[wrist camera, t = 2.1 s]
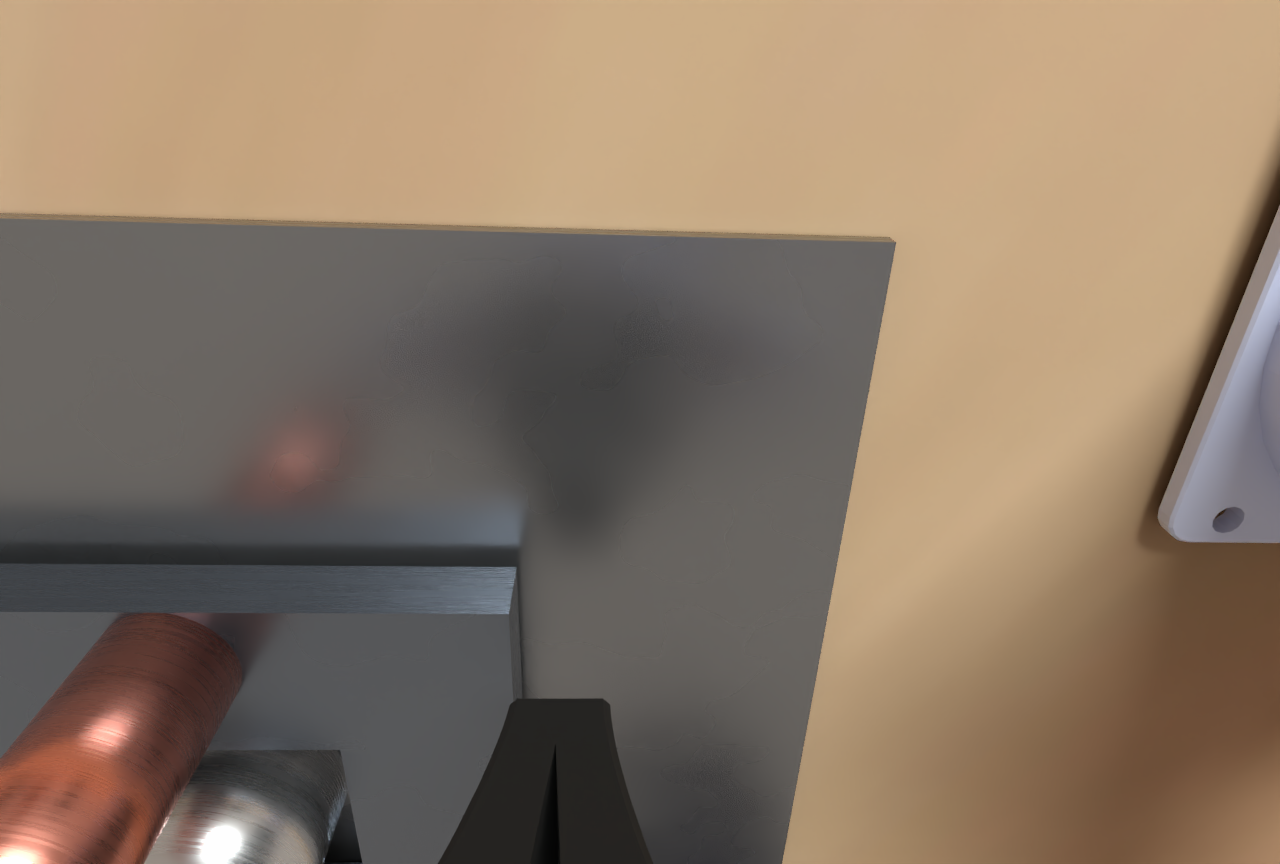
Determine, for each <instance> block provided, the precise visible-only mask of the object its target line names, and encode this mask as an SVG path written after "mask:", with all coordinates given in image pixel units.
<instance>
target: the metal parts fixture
mask: <svg viewBox="0 0 1280 864" xmlns="http://www.w3.org/2000/svg"><path fill="white" fill-rule="evenodd" d="M516 699H522V677H521V655H520V632H519V610H518V588H517V567H422V566H283V565H144V564H6V563H0V864H144V863H145V861H146V859H147V857H148V856H149V854H150V852H151V850H152V848H153V846H154V845H155V843H156V841H157V839H158V837H159V836H160V834H161V832H162V830H163V828H164V826H165V825H166V823H167V821H168V819H169V817H170V816H171V814H172V812H173V810H174V808H175V806H176V805H177V803H178V801H179V799H180V797H181V796H182V794H183V792H184V790H185V788H186V786H187V785H188V783H189V781H190V779H191V777H192V776H193V774H194V772H195V770H196V768H197V767H198V765H199V763H200V761H201V759H202V757H203V756H204V754H205V752H206V750H340V752H341V757H342V762H343V767H344V772H345V777H346V782H347V787H348V792H349V797H350V802H351V807H352V812H353V818H354V823H355V828H356V833H357V838H358V843H359V848H360V853H361V858H362V863H324V864H438V862H439V860H440V859H441V857H442V855H443V853H444V852H445V850H446V848H447V846H448V845H449V843H450V841H451V839H452V837H453V835H454V833H455V831H456V829H457V827H458V825H459V823H460V821H461V819H462V817H463V815H464V813H465V811H466V809H467V807H468V805H469V803H470V801H471V799H472V797H473V795H474V793H475V791H476V789H477V787H478V785H479V783H480V781H481V779H482V776H483V774H484V772H485V770H486V767H487V765H488V763H489V761H490V758H491V756H492V754H493V751H494V749H495V746H496V744H497V741H498V739H499V736H500V733H501V731H502V728H503V725H504V722H505V719H506V716H507V713H508V709H509V706H510V704H511V703H513V702H514V701H515V700H516Z"/></svg>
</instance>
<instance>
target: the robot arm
mask: <svg viewBox="0 0 1280 864" xmlns="http://www.w3.org/2000/svg"><path fill="white" fill-rule="evenodd" d="M1226 508H1227V509H1226ZM1224 509H1226V510H1225V511H1224V513H1223V514H1222V515H1220V516H1219V517H1217V518H1215V517H1216V516H1217V514H1218V513H1219V512H1221V511H1223V510H1224ZM1157 518H1158V520H1159V523H1160V525H1161V526H1162V527H1163V528H1164V529H1165V530H1166V531H1167V532H1168V533H1169V534H1170V535H1172V536H1173V537H1174V538H1175V539H1177V540H1178V541H1184V542H1209V543H1280V206H1279V208H1278V211H1277V213H1276V216H1275V218H1274V221H1273V223H1272V226H1271V228H1270V231H1269V233H1268V236H1267V238H1266V241H1265V243H1264V246H1263V248H1262V251H1261V253H1260V256H1259V258H1258V261H1257V263H1256V266H1255V268H1254V271H1253V273H1252V276H1251V279H1250V281H1249V284H1248V286H1247V289H1246V291H1245V294H1244V296H1243V299H1242V301H1241V304H1240V306H1239V309H1238V311H1237V314H1236V316H1235V319H1234V321H1233V324H1232V326H1231V329H1230V331H1229V334H1228V336H1227V339H1226V341H1225V344H1224V346H1223V349H1222V351H1221V354H1220V356H1219V359H1218V361H1217V364H1216V366H1215V369H1214V371H1213V374H1212V376H1211V379H1210V382H1209V384H1208V387H1207V389H1206V392H1205V394H1204V397H1203V399H1202V402H1201V404H1200V407H1199V409H1198V412H1197V414H1196V417H1195V419H1194V422H1193V424H1192V427H1191V429H1190V432H1189V434H1188V437H1187V439H1186V442H1185V444H1184V447H1183V449H1182V452H1181V454H1180V457H1179V459H1178V462H1177V464H1176V467H1175V469H1174V472H1173V474H1172V477H1171V479H1170V482H1169V484H1168V487H1167V490H1166V492H1165V495H1164V497H1163V500H1162V502H1161V505H1160V507H1159V511H1158V517H1157ZM1214 518H1215V519H1214ZM438 864H653V861H652V859H651V856H650V854H649V851H648V848H647V846H646V843H645V840H644V837H643V834H642V831H641V828H640V826H639V823H638V820H637V817H636V814H635V811H634V808H633V805H632V802H631V799H630V796H629V793H628V789H627V786H626V783H625V779H624V775H623V772H622V768H621V764H620V760H619V756H618V752H617V748H616V743H615V738H614V733H613V726H612V719H611V707H610V704H609V703H608V702H607V701H605V700H604V699H603V698H580V699H516V700H515V701H514V702H513V703H511V704H510V706H509V709H508V713H507V716H506V719H505V722H504V725H503V728H502V731H501V733H500V736H499V739H498V741H497V744H496V746H495V749H494V751H493V754H492V756H491V758H490V761H489V763H488V765H487V767H486V770H485V772H484V774H483V776H482V779H481V781H480V783H479V785H478V787H477V789H476V791H475V793H474V795H473V797H472V799H471V801H470V803H469V805H468V807H467V809H466V811H465V813H464V815H463V817H462V819H461V821H460V823H459V825H458V827H457V829H456V831H455V833H454V835H453V837H452V839H451V841H450V843H449V845H448V846H447V848H446V850H445V852H444V853H443V855H442V857H441V859H440V860H439V862H438Z"/></svg>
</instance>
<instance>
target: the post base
mask: <svg viewBox="0 0 1280 864" xmlns="http://www.w3.org/2000/svg"><path fill="white" fill-rule="evenodd" d="M895 245H896V242H895V241H894V240H892V239H891V238H890V237H858V236H821V235H784V234H747V233H710V232H673V231H636V230H599V229H562V228H525V227H488V226H452V225H415V224H378V223H341V222H304V221H267V220H230V219H193V218H156V217H119V216H82V215H45V214H8V213H0V563H6V564H144V565H283V566H422V567H517V588H518V610H519V632H520V655H521V677H522V699H580V698H603V699H604V700H605V701H607V702H608V703H609V704H610V707H611V719H612V726H613V733H614V738H615V743H616V748H617V752H618V756H619V760H620V764H621V768H622V772H623V775H624V779H625V783H626V786H627V789H628V793H629V796H630V799H631V802H632V805H633V808H634V811H635V814H636V817H637V820H638V823H639V826H640V828H641V831H642V834H643V837H644V840H645V843H646V846H647V848H648V851H649V854H650V856H651V859H652V861H653V864H782V860H783V855H784V849H785V844H786V838H787V833H788V827H789V822H790V816H791V811H792V806H793V800H794V795H795V789H796V784H797V778H798V773H799V767H800V762H801V757H802V751H803V746H804V740H805V735H806V729H807V724H808V719H809V713H810V708H811V702H812V697H813V691H814V686H815V680H816V675H817V670H818V664H819V659H820V653H821V648H822V642H823V637H824V632H825V626H826V621H827V615H828V610H829V604H830V599H831V593H832V588H833V583H834V577H835V572H836V566H837V561H838V555H839V550H840V545H841V539H842V534H843V528H844V523H845V517H846V512H847V506H848V501H849V496H850V490H851V485H852V479H853V474H854V468H855V463H856V458H857V452H858V447H859V441H860V436H861V430H862V425H863V419H864V414H865V409H866V403H867V398H868V392H869V387H870V381H871V376H872V370H873V365H874V360H875V354H876V349H877V343H878V338H879V332H880V327H881V322H882V316H883V311H884V305H885V300H886V294H887V289H888V283H889V278H890V273H891V267H892V262H893V256H894V251H895ZM324 863H362V858H361V853H360V848H359V843H358V838H357V833H356V828H355V823H354V818H353V812H352V807H351V802H350V797H349V792H348V787H347V782H346V777H345V772H344V767H343V762H342V757H341V752H340V750H206V752H205V754H204V756H203V757H202V759H201V761H200V763H199V765H198V767H197V768H196V770H195V772H194V774H193V776H192V777H191V779H190V781H189V783H188V785H187V786H186V788H185V790H184V792H183V794H182V796H181V797H180V799H179V801H178V803H177V805H176V806H175V808H174V810H173V812H172V814H171V816H170V817H169V819H168V821H167V823H166V825H165V826H164V828H163V830H162V832H161V834H160V836H159V837H158V839H157V841H156V843H155V845H154V846H153V848H152V850H151V852H150V854H149V856H148V857H147V859H146V861H145V863H144V864H324Z"/></svg>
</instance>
